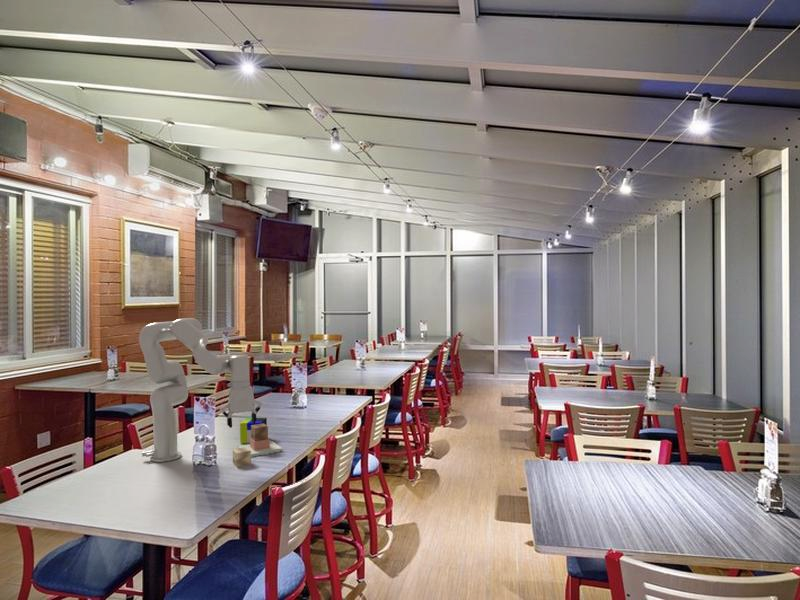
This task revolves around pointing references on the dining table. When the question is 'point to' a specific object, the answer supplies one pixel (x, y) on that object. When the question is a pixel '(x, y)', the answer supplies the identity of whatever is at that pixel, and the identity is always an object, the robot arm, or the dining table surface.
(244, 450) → the maple brick
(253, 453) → the build board
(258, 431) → the walnut brick
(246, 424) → the puzzle toy
